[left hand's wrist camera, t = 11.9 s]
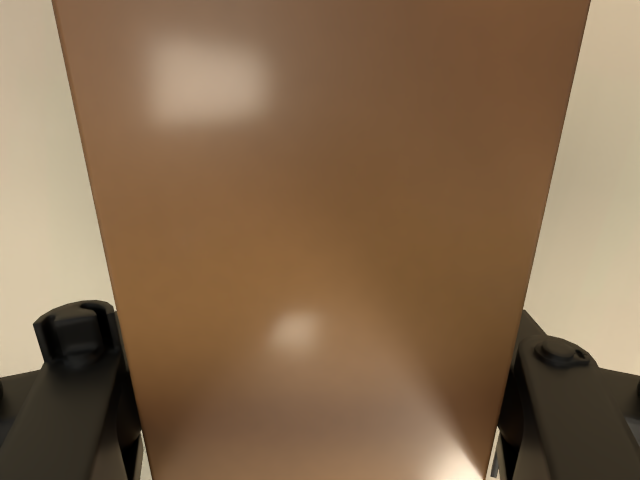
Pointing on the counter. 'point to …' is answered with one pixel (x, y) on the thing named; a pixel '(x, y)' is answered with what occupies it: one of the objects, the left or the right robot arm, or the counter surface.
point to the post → (320, 221)
